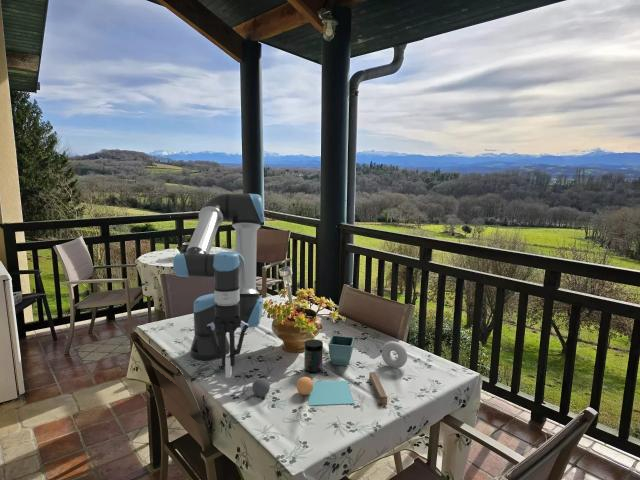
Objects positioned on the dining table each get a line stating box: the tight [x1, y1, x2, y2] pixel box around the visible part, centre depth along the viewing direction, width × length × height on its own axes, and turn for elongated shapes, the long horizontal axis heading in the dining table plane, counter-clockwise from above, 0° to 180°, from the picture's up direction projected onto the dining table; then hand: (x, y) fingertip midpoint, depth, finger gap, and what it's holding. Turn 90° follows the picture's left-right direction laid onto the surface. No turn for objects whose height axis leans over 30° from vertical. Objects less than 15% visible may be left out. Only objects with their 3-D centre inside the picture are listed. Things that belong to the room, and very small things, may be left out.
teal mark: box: [307, 380, 356, 407], centre depth 127 cm, size 14×14×1 cm
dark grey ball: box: [251, 377, 271, 398], centre depth 124 cm, size 6×6×6 cm
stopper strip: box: [369, 371, 388, 405], centre depth 128 cm, size 2×16×2 cm, turn 5°
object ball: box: [296, 376, 314, 396], centre depth 126 cm, size 6×6×6 cm
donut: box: [381, 340, 408, 369], centre depth 144 cm, size 10×4×10 cm, turn 55°
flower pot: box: [328, 334, 355, 367], centre depth 147 cm, size 9×9×9 cm
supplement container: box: [303, 339, 324, 375], centre depth 141 cm, size 7×7×10 cm
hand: (228, 375), depth 122 cm, fingers closed
